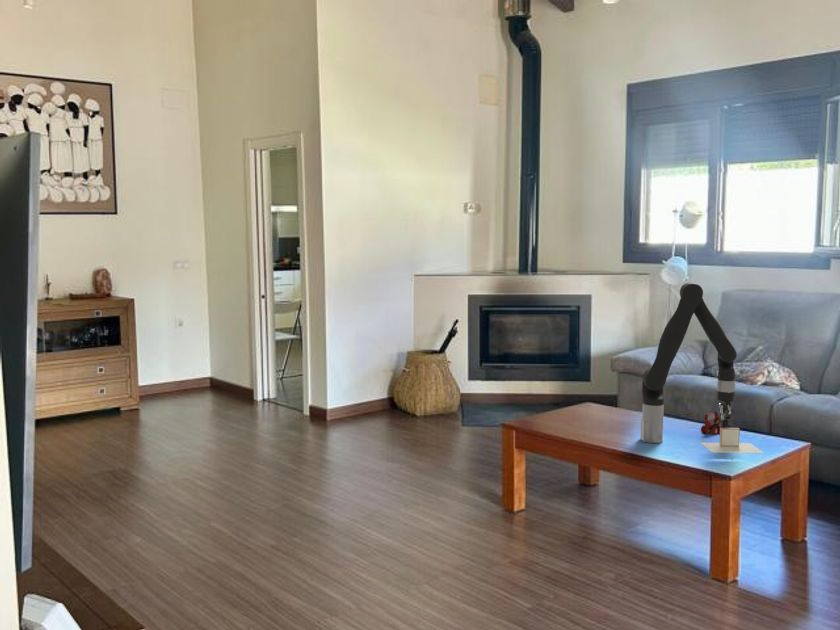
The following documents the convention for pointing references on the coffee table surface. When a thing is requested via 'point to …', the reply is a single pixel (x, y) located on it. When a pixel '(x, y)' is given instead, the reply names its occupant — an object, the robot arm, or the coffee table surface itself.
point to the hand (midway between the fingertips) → (724, 427)
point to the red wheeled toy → (711, 424)
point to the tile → (729, 436)
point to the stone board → (732, 448)
